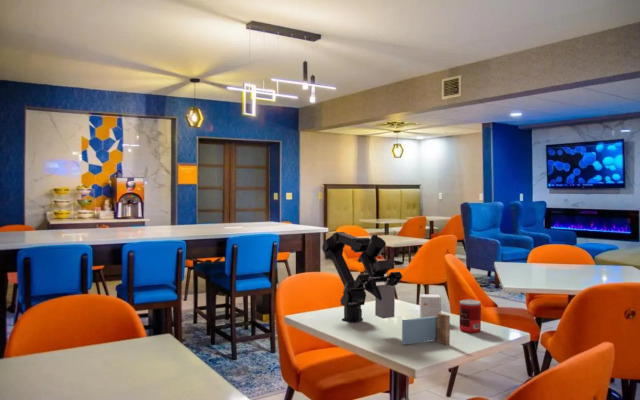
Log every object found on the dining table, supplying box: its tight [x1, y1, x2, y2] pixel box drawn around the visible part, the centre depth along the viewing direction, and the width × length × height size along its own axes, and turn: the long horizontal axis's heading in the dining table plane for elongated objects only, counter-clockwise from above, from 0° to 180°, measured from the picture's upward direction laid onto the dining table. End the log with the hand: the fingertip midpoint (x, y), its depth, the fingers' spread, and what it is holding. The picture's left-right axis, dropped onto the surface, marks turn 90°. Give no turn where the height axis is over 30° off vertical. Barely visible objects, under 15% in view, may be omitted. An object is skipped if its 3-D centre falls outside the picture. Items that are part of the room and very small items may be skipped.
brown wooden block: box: [436, 312, 451, 346], centre depth 171 cm, size 5×1×10 cm, turn 25°
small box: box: [419, 293, 442, 318], centre depth 201 cm, size 8×6×10 cm
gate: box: [401, 316, 437, 345], centre depth 172 cm, size 15×1×8 cm, turn 115°
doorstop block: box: [374, 284, 396, 319], centre depth 182 cm, size 5×5×11 cm
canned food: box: [459, 299, 482, 334], centre depth 187 cm, size 8×8×11 cm
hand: (387, 299), depth 180 cm, fingers closed on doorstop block, 5 cm apart
